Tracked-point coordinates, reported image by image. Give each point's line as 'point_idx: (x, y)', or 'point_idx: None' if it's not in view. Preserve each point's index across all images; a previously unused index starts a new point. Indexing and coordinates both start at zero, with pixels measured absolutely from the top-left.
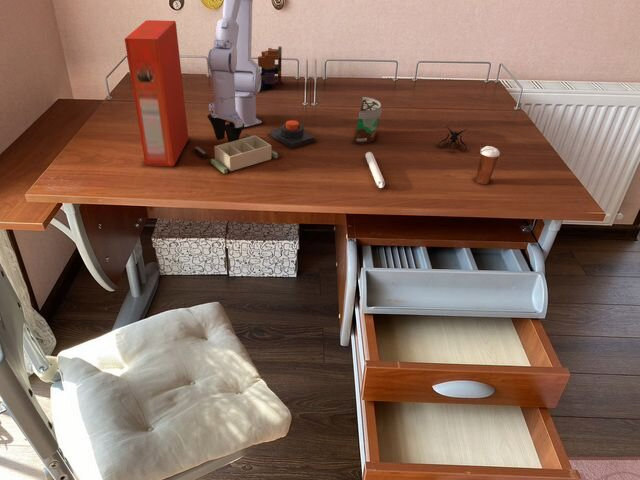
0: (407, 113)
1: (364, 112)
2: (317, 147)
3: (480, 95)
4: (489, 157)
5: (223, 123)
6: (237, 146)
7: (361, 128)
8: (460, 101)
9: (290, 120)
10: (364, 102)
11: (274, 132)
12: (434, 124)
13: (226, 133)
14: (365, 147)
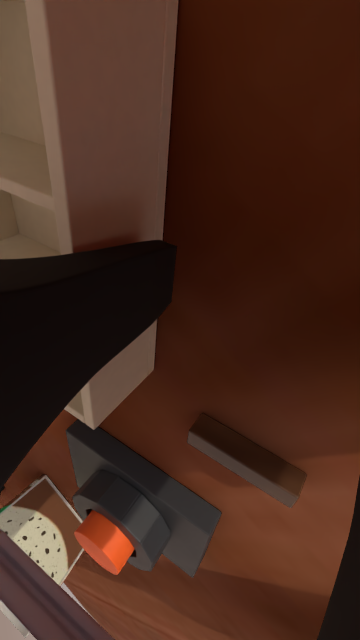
0: (112, 595)
1: None
2: (60, 440)
3: (109, 627)
4: None
5: (346, 576)
6: None
7: (1, 509)
8: (107, 616)
9: (117, 574)
10: None
11: (178, 515)
12: None
13: (23, 283)
14: (26, 459)
